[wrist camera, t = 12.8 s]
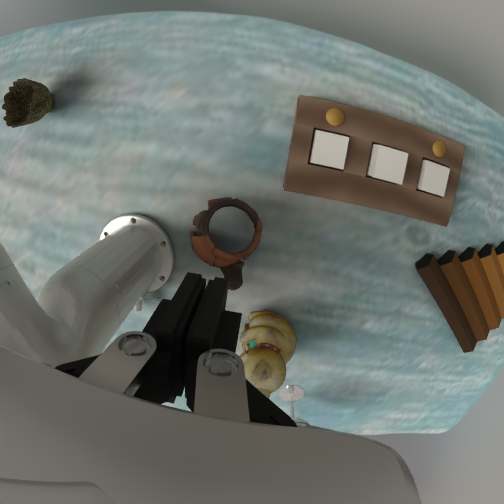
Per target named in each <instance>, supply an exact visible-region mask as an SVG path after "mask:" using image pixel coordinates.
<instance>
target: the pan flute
mask: <svg viewBox="0 0 504 504" xmlns="http://www.w3.org/2000/svg"><path fill="white" fill-rule="evenodd" d="M438 262H439V264H438ZM438 262H437V260H436V258H435V257H434V255H431V254H426V255H424V256H423V257H422V258H421V259H420V260H419V261H418V262H417V263H415V266H416V270H417V271H418V273H419V275H420V276H421V278H422V279H423V281H424V283H425V284H426V286H427V287H428V289H429V291H430V292H431V294H432V296H433V297H434V299H435V301H436V302H437V304H438V306H439V308H440V309H441V311H442V313H443V315H444V316H445V318H446V320H447V322H448V323H449V325H450V327H451V329H452V331H453V333H454V335H455V336H456V338H457V340H458V342H459V344H460V346H461V348H462V350H463V352H464V353H465V352H470V351H474V348H475V345H476V343H477V341H481V340H486V339H487V336H488V333H489V330H492V329H495V328H499V325H500V322H501V319H502V318H504V242H503V241H502V242H501V243H500V244H499V245H498V247H497V248H496V249H494V247H493V245H489V244H486V245H485V246H484V247H483V248H482V249H481V250H480V251H479V252H478V253H477V251H476V249H475V248H471V247H468V248H467V249H466V250H465V251H464V252H463V253H462V254H461V255H460V256H459V257H458V255H457V253H456V252H455V251H451V250H448V251H447V252H446V253H445V254H444V255H443V256H442V257H441V258H440V259H439V260H438Z"/></svg>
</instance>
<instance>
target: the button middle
mask: <svg viewBox="0 0 504 504" xmlns="http://www.w3.org/2000/svg"><path fill="white" fill-rule="evenodd" d="M407 159H408V153H405V152H402V151H399V150H396V149H392V148H389V147H385V146H382V145H376V144H373V146H372V152H371V157H370V162H369V167H368V172H367V175H369V176H372V177H374V178H378V179H382V180H386V181H390V182H393V183H397V184H401V185H402V183H403V178H404V173H405V169H406V164H407Z"/></svg>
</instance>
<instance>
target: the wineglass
mask: <svg viewBox="0 0 504 504" xmlns="http://www.w3.org/2000/svg"><path fill="white" fill-rule="evenodd" d="M278 395H279V397H280V399H282V400H283V401H287V402H290V417H291V418H292V419H293V420H294V422H295V423H296V425H298V426H302V427H305V425H306V424H308V425H310V424H309V423H308V422H306V421H305V420H303V419H300V418H295V417H294V407H293V402H294V401H298V400H300V399H301V398H302V397H303V396H304V390H303V389H302V388H301V387H299V386H294V385H291V386H286V387H283V388H282V389H281V390H280V391H279V393H278Z"/></svg>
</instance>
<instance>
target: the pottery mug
mask: <svg viewBox="0 0 504 504" xmlns="http://www.w3.org/2000/svg"><path fill="white" fill-rule="evenodd" d="M208 206H209V209H208V210H204V211H202V212H200V213H199V214H198V215H196V216H195V217H194V220H193V225H196V227H197V229H198V230H199V231H200V232H201V234H202V235H201V236H195V232H194V231H190V239H191V244H192V248H193V250H194V252H195V253H196V254H197V256H198V257H199V258H200V259H202V260H203V261H204V262H206V263H207V264H209V265H211V266H214V267H218V268H220V269H221V270H222V272H223V274H224V278H225V279H229V283H228V289H230V290H236V289H238V288H240V287H241V286H242V283H243V280H242V267H243V265H244V262H243V261H240V259H242V258H243V259H244V260H245V259H247V258H248V257H249V256H250V255H251V253H252V252H253V251H254V250H255V249H256V247H257V246H258V243H259V242H260V237H261V231H262V227H261V222H260V219H259V217H258V215H257V213H256V212H255V211H254V210H253V209H252V208H251V207H250V206H249V205H248V204H246V203H245V202H243V201H241V200H239V199H232V198H230V197H228V198H220V199H213V200H209V201H208ZM227 206H232V207H237V208H239V209H241V210H243V211H244V212H246V213H247V215H248V216H249V217H250V218H251V220H252V222H253V223H254V227H255V232H254V236H253V239H252V242H251V243H250V245H249V246H248V247H247V248H246V249H244V250H243V251H241V252H238V253H227V252H224V251H222V250H220V249H219V248H218V247H216V245H215V244H214V243H213V242H212V240H211V238H210V235H209V229H208V228H209V222H210V219H211V217H212V215H213V214H214V213H215V211H217V210H218V209H220V208H223V207H227Z"/></svg>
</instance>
